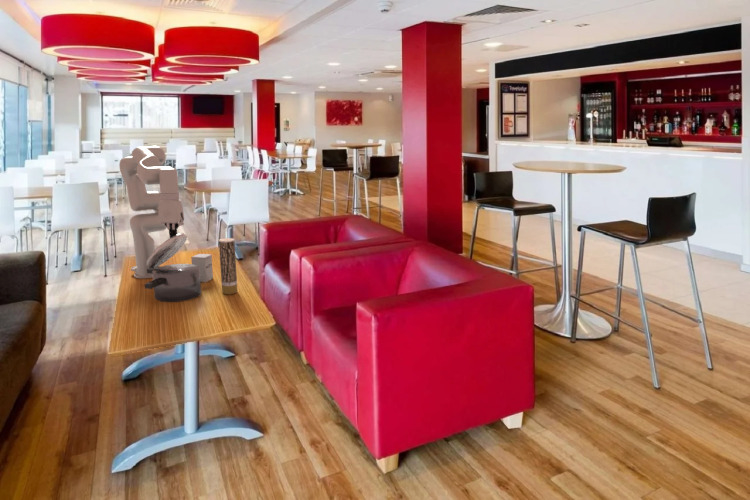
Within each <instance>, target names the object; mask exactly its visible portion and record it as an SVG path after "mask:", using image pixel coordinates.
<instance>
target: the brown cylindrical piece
mask: <svg viewBox="0 0 750 500" xmlns="http://www.w3.org/2000/svg"><path fill="white" fill-rule="evenodd" d="M235 244H236V243H235V238H232V237H225V238H220V239H218V248H219V251H218V252H219V262H220V279H221V280H220V281H221V292H222V294H224V295H234V294H237V293H238V277H237V263H236V262H237V261H236V247H235V246H236V245H235Z"/></svg>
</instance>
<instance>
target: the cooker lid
mask: <svg viewBox="0 0 750 500" xmlns="http://www.w3.org/2000/svg"><path fill="white" fill-rule="evenodd" d="M187 240H188V236H187V235H186V234H185V233H184V232H179V233H177V235H174V236H173V237H171V238H170V237H169V238H168V239H166V240H165V241H164V242H163V243H161V244H160V245H159V246H158V247H157V248H155V251H154V252H153V253H152V254H151V256H150V257H149V258H148V260H147V263H146V264H147V266H148V267H149V268H155V267H157V266H162V265H163V264H164V263H166V262H167V261H169V260H170V259H171V258H172V257H173V256H175V255H176V253H178V252H179V251H180V250H181V248H182V247H183V246H184V245H185V244H186V242H187Z"/></svg>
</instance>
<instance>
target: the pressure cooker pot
mask: <svg viewBox="0 0 750 500" xmlns="http://www.w3.org/2000/svg"><path fill="white" fill-rule="evenodd" d="M147 273H150V274H152V275H153V278H152V280H151V281H148V282H146V283H144V289H148V290H152V289H153V294H154V299H155V300H156V301H159V302H163V303H177V302H185V301H190V300H192V299H196V298H198V297H200V296H201V295H202V284H201V283H202V282H200V269H199V266H197V265H193V264H192V263H173V264H167V265H159V266H157V267H155V268H149V269H147Z"/></svg>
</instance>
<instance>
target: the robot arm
mask: <svg viewBox="0 0 750 500" xmlns="http://www.w3.org/2000/svg"><path fill="white" fill-rule="evenodd" d="M165 161H166V154H165V151H164V149H163V148H162V147H161V146H158V145H150V146H147V145H145V146H137V147H135V148H134V149H133V150H132V151H131V156H125V157H123V158H121V159H120V160H119V164H118V165H119V170H120V171H119V172H120V174H121V176H122V179H123V180H124V182H125V185H126V190H127V196H128V201H129V205H130V209H131V210H132V211H134V212H148V211H153V212H151V213H138V214H135V215H133V216H131V217H130V219H129V226H130V230H131V234H132V239H133V247H134V255H135V256H134V257H135V258H134V259H135V266H131V268H130V271H131V272H134V273H133V277H134V278H135V279H140V280H141V279H153V275H152V274H150V273H147V269H149V267H148V266H147V264H146V263H147V260H148V258H149V257H150V256H151V254H152V253H153V252H154V251H155V250H156V245H155V240H154V238H153V237H152V236H151V235H150V234H151V233H155V232H162V231H165V230H166V229H167V230H168V234H169V235H168V236H169V238H171V237H173V236H174V235H177V234H178V228H179V227H180V226H184V224H185V223H184V220H185V215H184V214H185V213H184V208H183V204H182V201H181V199H180V191H179V177H178V171H177V169H176V168H174V167H172V166H165V165H164V166H163V164H164V163H165ZM146 185H149V186H150V185H159V191H160V192H159V191H156V190H153V191H152V190H151V191H147V188H146ZM149 233H150V234H149Z"/></svg>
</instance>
